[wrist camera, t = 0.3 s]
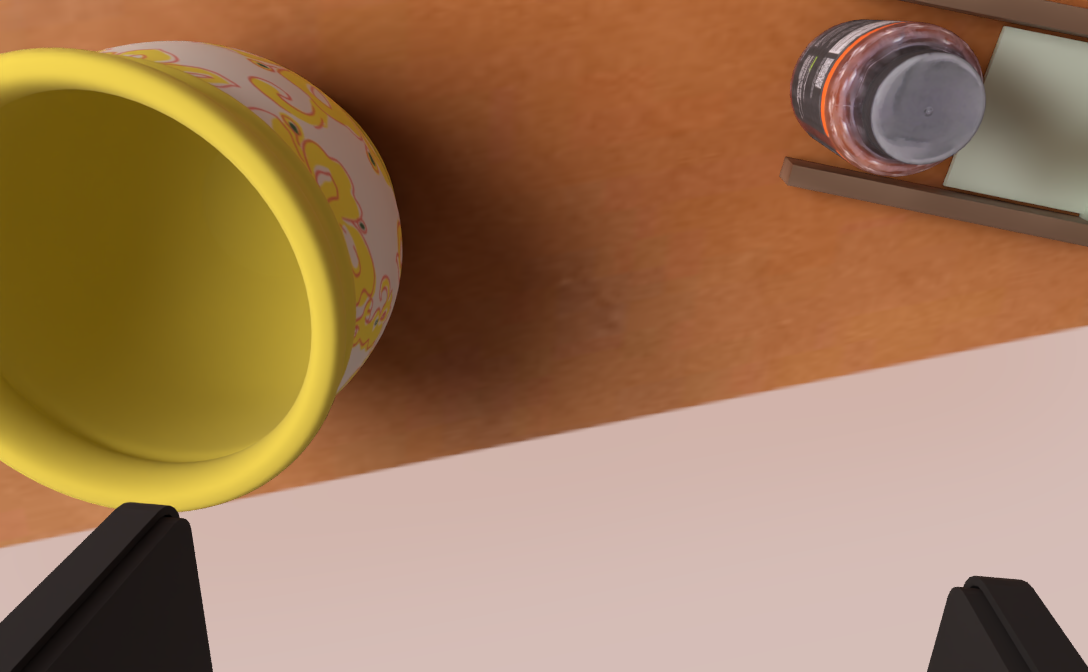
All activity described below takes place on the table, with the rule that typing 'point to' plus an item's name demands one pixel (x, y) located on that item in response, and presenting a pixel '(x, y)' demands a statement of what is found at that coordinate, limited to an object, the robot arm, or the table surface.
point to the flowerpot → (180, 268)
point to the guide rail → (1003, 133)
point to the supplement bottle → (889, 94)
